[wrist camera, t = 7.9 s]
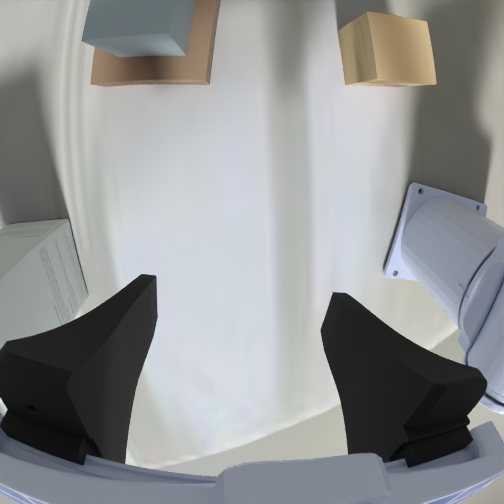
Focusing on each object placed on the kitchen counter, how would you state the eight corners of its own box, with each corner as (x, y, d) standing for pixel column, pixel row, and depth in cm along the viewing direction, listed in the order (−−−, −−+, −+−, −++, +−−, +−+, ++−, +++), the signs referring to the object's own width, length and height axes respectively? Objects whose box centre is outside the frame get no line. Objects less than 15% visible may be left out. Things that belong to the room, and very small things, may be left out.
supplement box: (7, 222, 20) (-90, 300, 8) (71, 216, 20) (-35, 313, 9) (28, 295, 23) (-41, 388, 11) (90, 298, 23) (26, 415, 12)
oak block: (388, 35, 16) (426, 21, 11) (396, 86, 17) (436, 84, 13) (337, 31, 16) (366, 11, 11) (345, 85, 17) (377, 79, 13)
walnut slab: (222, -7, 14) (220, -24, 12) (210, 85, 17) (205, 80, 15) (122, -2, 14) (107, -15, 11) (109, 87, 17) (90, 84, 14)
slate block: (197, -4, 12) (185, -41, 8) (186, 56, 14) (168, 33, 9) (130, -1, 12) (100, -32, 7) (119, 57, 13) (81, 41, 9)
